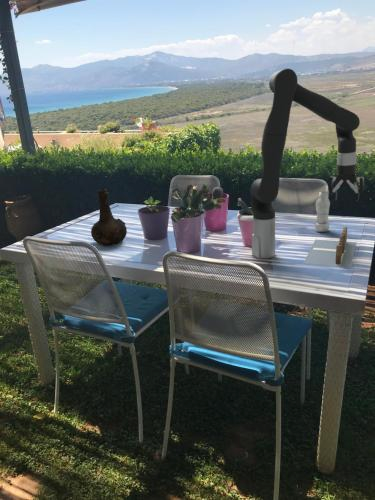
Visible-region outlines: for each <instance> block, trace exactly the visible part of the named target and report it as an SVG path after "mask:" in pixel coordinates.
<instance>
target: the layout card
mask: <svg viewBox="0 0 375 500" xmlns="http://www.w3.org/2000/svg"><path fill="white" fill-rule="evenodd" d="M337 245H339V240H330V239H329V240H327V239H314V241H313V244H312V246H311V248H310V250H309V252H308V254H307V256H306V257H305V260H304V261H303V264H307V265H315V266H327V267H336V268H337V267H338V268H346V269H347V268H349V269H350V268H352V263H353V259H354V255H355V251H356V245H357V241H347V242H345V248H344V253H343V254H342V256H341V264H335V262H336V246H337Z"/></svg>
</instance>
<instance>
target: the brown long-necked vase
mask: <svg viewBox="0 0 375 500" xmlns="http://www.w3.org/2000/svg"><path fill="white" fill-rule="evenodd" d="M109 194H110V192H109V191H108V190H107V188H100V189H98V190H97V193H96V196H98V204H99V206H98V207H99V217H98V220H97V221H96V222H95V223H93V224H92V227H91V229H90V235H91V237H92V239H93V240H94V241H95V243H97V244H98V245H100V246H105V247H109V246H110V247H111V246H115V245H118V244H120V243H122V242H123V241H124V240H125V238H126V236H127V234H128V233H127V232H128V230H127V226H126V222H124V220H122V219H120V218H115V217H114V216H113V215H114V214H113V213H112V210H111V206H110V201H109V196H108V195H109Z"/></svg>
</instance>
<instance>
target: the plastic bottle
mask: <svg viewBox="0 0 375 500" xmlns="http://www.w3.org/2000/svg"><path fill="white" fill-rule="evenodd" d="M330 205H331V201H330V199H329V198H328V191H319V193H318V199H316V201H315V209H316V219H315V220H316V221H315V225H314V229H315V231H316V232H317V233H327V232H328V231H329V230H330V222H329V212H330Z"/></svg>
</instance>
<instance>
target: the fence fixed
mask: <svg viewBox="0 0 375 500" xmlns="http://www.w3.org/2000/svg"><path fill="white" fill-rule="evenodd" d="M340 235H341V234H340ZM340 235H339V240H338V241H339V245H337V246H336V262H335V264H341V256H342V254H343V253H344V241H345V236H343V235H341V236H340Z"/></svg>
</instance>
